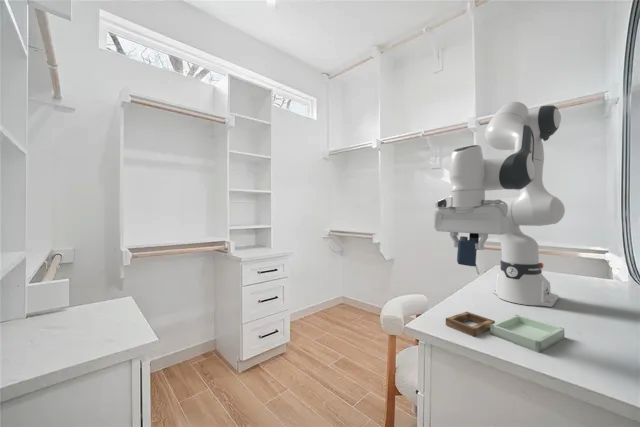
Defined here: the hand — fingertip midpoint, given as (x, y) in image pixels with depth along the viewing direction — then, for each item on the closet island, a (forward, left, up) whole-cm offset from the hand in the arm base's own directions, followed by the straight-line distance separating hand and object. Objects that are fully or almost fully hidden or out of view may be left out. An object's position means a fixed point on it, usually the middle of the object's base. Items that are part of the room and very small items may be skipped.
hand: (468, 248), depth 74 cm
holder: (0, 0, -23) cm, 23 cm away
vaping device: (0, -1, -5) cm, 5 cm away
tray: (-7, +11, -23) cm, 26 cm away
